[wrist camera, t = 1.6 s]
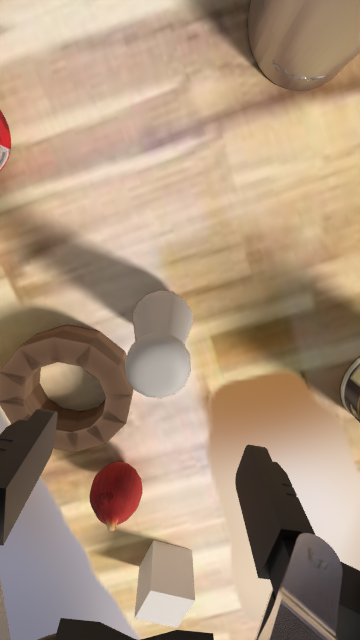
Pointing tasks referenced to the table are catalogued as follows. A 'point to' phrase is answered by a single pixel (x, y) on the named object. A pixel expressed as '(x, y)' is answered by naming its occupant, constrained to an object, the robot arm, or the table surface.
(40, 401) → the walnut ring
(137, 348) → the salt shaker
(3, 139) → the soda can
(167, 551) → the white cube
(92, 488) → the onion
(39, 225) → the table surface
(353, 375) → the coffee can
